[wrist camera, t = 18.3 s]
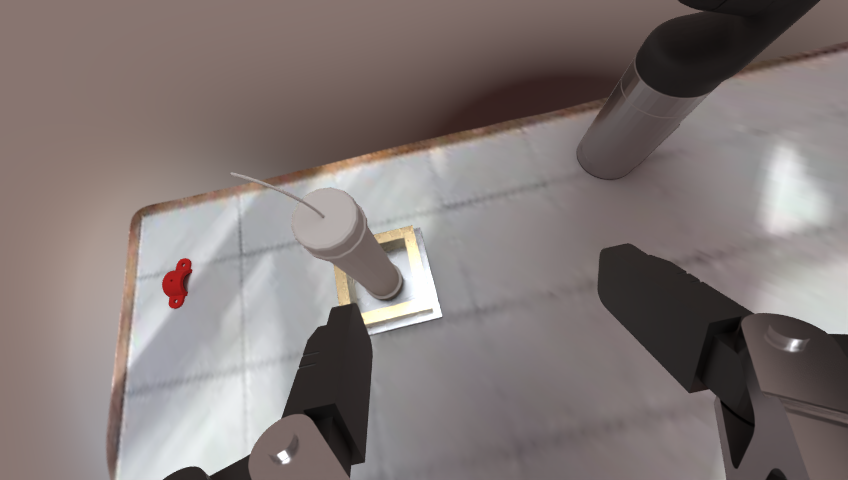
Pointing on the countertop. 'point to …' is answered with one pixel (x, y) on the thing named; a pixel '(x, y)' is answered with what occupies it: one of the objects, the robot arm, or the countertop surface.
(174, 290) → the pipe clamp
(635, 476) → the countertop surface
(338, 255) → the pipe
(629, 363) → the countertop surface
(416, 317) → the socket
